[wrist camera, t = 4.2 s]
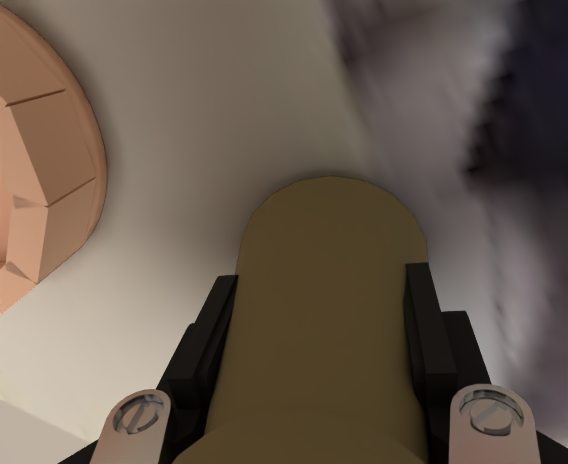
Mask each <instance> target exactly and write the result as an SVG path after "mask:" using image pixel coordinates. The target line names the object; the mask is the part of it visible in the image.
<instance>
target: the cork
mask: <svg viewBox="0 0 568 464" xmlns="http://www.w3.org/2000/svg"><path fill="white" fill-rule="evenodd" d="M422 262H428V252H427V241H426V238H425V236H424V234H423V232H422V230H421V228H420V226H419V224H418V222H417V220H416V218H415V217H414V215H413V214H412V213H411V212H410V211H409V210H408V209H407V208H406V207H405V206H404V205H403V204H402V203H401V202H400V201H398V200H397V199H396V198H395V197H394V196H393V195H392V194H390V193H388V192H386V191H384V190H382V189H380V188H378V187H376V186H374V185H371V184H369V183H367V182H365V181H363V180H356V179H349V178H342V177H335V176H326V177H320V178H314V179H307V180H301V181H298V182H296V183H294V184H292V185H290V186H288V187H286V188H284V189H282V190H280V191H278V192H276V193H274V194H272V195H271V196H270V197H269V198H268V199H267V200H266V201H265V202H264V203H263V204H262V205H261V206H260V207H259V208H258V209H257V210H256V211H255V212H254V213H253V215H252V217H251V219H250V221H249V223H248V226H247V228H246V230H245V232H244V235H243V237H242V240H241V246H240V251H239V256H238V261H237V266H236V271H235V275H238V279H237V288H236V294H235V301H234V307H233V311H232V315H231V319H230V323H229V327H228V332H227V336H226V340H225V344H224V348H223V353H222V357H221V361H220V365H219V369H218V373H217V378H216V382H215V386H214V390H213V394H212V399H211V401H210V406H209V411H208V417H207V422H206V427H205V432H204V436H203V437H202V438H201V439H199V440H198V441H197V442H195V443H194V444H193V445H191V446H190V447H189V448H187V449H186V450H185V451H183V452H182V453H181V454H179V455H178V456H177V457H176V459H175V460H174V462H173V463H172V464H431V454H430V441H429V428H428V416H427V414H426V413H425V411H424V409H423V408H422V406H421V404H420V402H419V401H418V399H417V397H416V396H415V389H414V381H413V373H412V365H411V358H410V350H409V342H408V335H407V327H406V320H405V312H404V304H403V298H404V291H405V283H406V276H407V267H406V263H422ZM428 265H429V262H428Z"/></svg>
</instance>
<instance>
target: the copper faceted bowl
mask: <svg viewBox="0 0 568 464" xmlns="http://www.w3.org/2000/svg"><path fill="white" fill-rule="evenodd" d="M106 187H107V165H106V158H105V150H104V145H103V141H102V137H101V133H100V130H99V126H98V124H97V121H96V118H95V116H94V113H93V111H92V108H91V106H90V104H89V102H88V100H87V98H86V96H85V94H84V92H83V90H82V88H81V86H80V85H79V83H78V82H77V80H76V79H75V77H74V76H73V74H72V72H71V71H70V69H69V68H68V66H67V65H66V64H65V63H64V61H63V60H62V59H61V58H60V56H59V55H58V54H57V53H56V52H55V50H54V49H53V48H52V47H51V46H50V45H49V44H48V43H47V42H46V41H45V40H44V39H43V38H42V37H41V36H40V35H39V34H38V33H37V32H36V31H35V30H34V29H33V28H32V27H30V26H29V25H28V24H27V23H25V22H24V21H23V20H22V19H21V18H19V17H18V16H17V15H15V14H14V13H12V12H11V11H9V10H8V9H6V8H5V7H3V6H2V5H0V315H1V314H3V313H4V312H5V311H6V310H7V309H9V308H10V307H11V306H12V305H13V304H15V303H16V302H17V301H18V300H19V299H21V298H22V297H23V296H24V295H25V294H26V293H28V292H29V291H30V290H31V289H32V288H34V287H35V286H36V285H37V284H38V283H40V282H41V281H42V280H43V279H44V278H45V277H47V276H48V275H49V274H50V273H51V272H53V271H54V270H55V269H56V268H57V267H58V266H60V265H61V264H62V263H63V262H64V261H66V260H67V259H68V258H69V257H70V256H71V255H73V254H74V253H75V252H76V251H77V250H79V249H80V248H81V247H82V245H83V244H84V243H85V242H86V241H87V239H88V238H89V236H90V235H91V233H92V232H93V231H94V229H95V226H96V224H97V222H98V220H99V218H100V215H101V212H102V208H103V205H104V202H105V194H106Z"/></svg>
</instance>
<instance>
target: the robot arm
mask: <svg viewBox="0 0 568 464" xmlns="http://www.w3.org/2000/svg"><path fill="white" fill-rule="evenodd" d="M406 267H407V276H406V283H405V291H404V298H403V304H404V312H405V320H406V327H407V335H408V342H409V350H410V358H411V365H412V373H413V381H414V389H415V396H416V397H417V399H418V401H419V402H420V404H421V406H422V408H423V409H424V411H425V413H426V414H427V416H428V428H429V441H430V454H431V464H568V448H566V447H564V446H563V445H561V444H559V443H557V442H556V441H554V440H552V439H550V438H549V437H547V436H545V435H544V434H542V433H540V432H538V431H537V430H535V424H534V417H533V415H532V412H531V409H530V407H529V406H528V405H527V404H526V402H525V401H524V400H523V399H522V398H521V397H519V396H518V395H517V394H515V393H514V392H512V391H510V390H508V389H506V388H503V387H501V386H496V385H492V384H491V381H490V378H489V375H488V372H487V369H486V366H485V364H484V361H483V358H482V355H481V352H480V349H479V346H478V343H477V340H476V338H475V335H474V332H473V329H472V326H471V323H470V320H469V317H468V315H467V313H466V311H445V312H441V310H440V306H439V302H438V299H437V295H436V291H435V287H434V284H433V280H432V276H431V272H430V269H429V265H428V262H422V263H406ZM237 279H238V275H226V276H218V277H217V279H216V281H215V283H214V285H213V287H212V289H211V291H210V293H209V295H208V297H207V299H206V301H205V303H204V305H203V307H202V309H201V311H200V313H199V315H198V317H197V319H196V321H195V323H192V324H190V325H189V326H188V327H187V329H186V331H185V333H184V335H183V337H182V339H181V341H180V343H179V345H178V347H177V349H176V351H175V353H174V354H173V356H172V358H171V360H170V362H169V364H168V366H167V368H166V370H165V372H164V374H163V376H162V378H161V380H160V382H159V384H158V386H157V388H156V389H147V390H142V391H138V392H135V393H133V394H131V395H129V396H127V397H126V398H124V399H123V400H121V401H120V402H119V403H118V404H117V405H116V406H115V407H114V408H113V409H112V410H111V412H110V413H109V415H108V417H107V419H106V422H105V424H104V427H103V430H102V432H101V435H100V437H99V439H98V440H96V441H94V442H93V443H91V444H89V445H88V446H86V447H85V448H83V449H81V450H80V451H78V452H76V453H75V454H73V455H71V456H70V457H68V458H66V459H65V460H63V461H61V462H60V463H58V464H172V463H173V462H174V460H175V459H176V457H177V456H178V455H179V454H181V453H182V452H183V451H185V450H186V449H187V448H189V447H190V446H191V445H193V444H194V443H195V442H197V441H198V440H199V439H201V438H202V437H203V436H204V432H205V427H206V422H207V417H208V411H209V406H210V401H211V399H212V394H213V390H214V386H215V382H216V378H217V373H218V369H219V365H220V361H221V357H222V353H223V348H224V344H225V340H226V336H227V332H228V327H229V323H230V319H231V315H232V311H233V307H234V301H235V294H236V288H237Z"/></svg>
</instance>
